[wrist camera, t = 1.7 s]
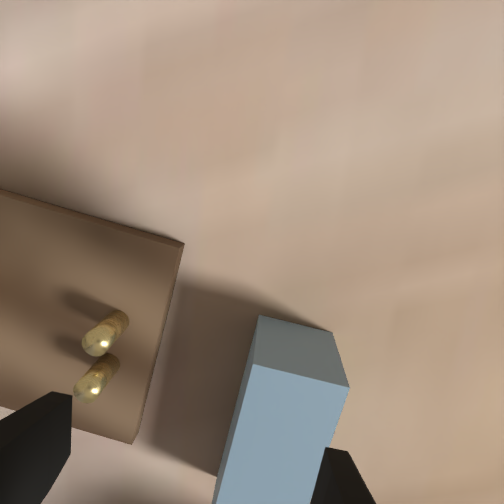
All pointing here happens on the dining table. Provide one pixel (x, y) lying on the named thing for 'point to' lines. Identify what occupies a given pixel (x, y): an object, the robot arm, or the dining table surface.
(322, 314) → the dining table surface
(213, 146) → the dining table surface
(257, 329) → the light blue rectangular block
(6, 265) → the peg stand
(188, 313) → the dining table surface
